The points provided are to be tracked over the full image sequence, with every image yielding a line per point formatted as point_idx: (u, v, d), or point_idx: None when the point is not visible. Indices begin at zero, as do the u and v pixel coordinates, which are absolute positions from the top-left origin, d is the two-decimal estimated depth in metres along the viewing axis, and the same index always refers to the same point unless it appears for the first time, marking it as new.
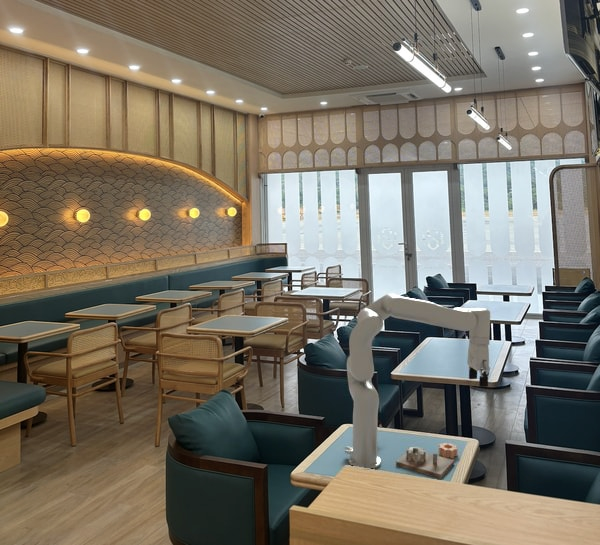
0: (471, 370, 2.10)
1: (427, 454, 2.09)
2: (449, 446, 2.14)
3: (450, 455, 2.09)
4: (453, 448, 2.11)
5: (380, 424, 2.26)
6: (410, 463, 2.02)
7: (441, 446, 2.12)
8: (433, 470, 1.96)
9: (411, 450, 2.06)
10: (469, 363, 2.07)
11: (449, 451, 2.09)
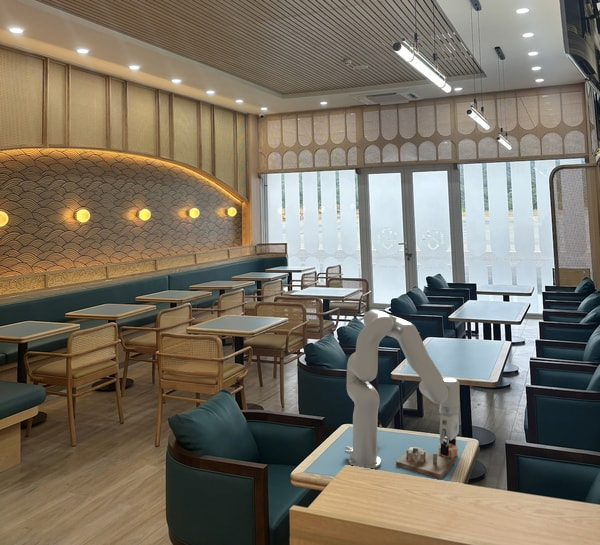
0: None
1: (427, 454, 2.09)
2: (449, 446, 2.14)
3: (450, 455, 2.09)
4: (453, 448, 2.11)
5: (380, 424, 2.26)
6: (410, 463, 2.02)
7: None
8: (433, 470, 1.96)
9: (411, 450, 2.06)
10: (453, 436, 2.08)
11: (449, 451, 2.09)
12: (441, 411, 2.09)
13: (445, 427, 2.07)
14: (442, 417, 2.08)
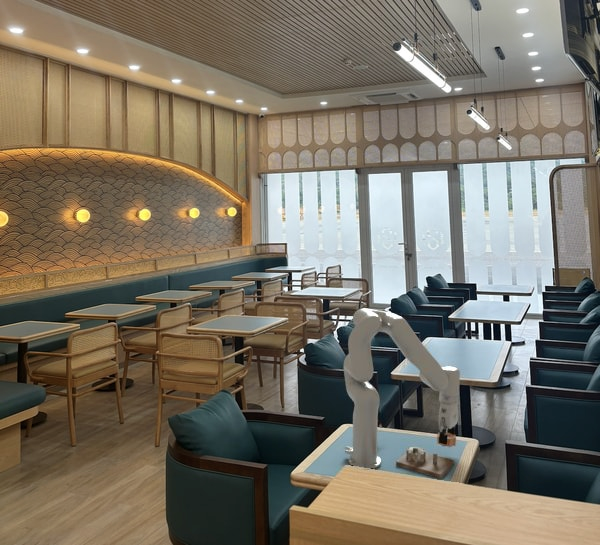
0: None
1: (427, 454, 2.09)
2: (448, 435, 2.13)
3: (448, 444, 2.09)
4: (452, 437, 2.10)
5: (380, 424, 2.26)
6: (410, 463, 2.02)
7: None
8: (433, 470, 1.96)
9: (411, 450, 2.06)
10: (452, 425, 2.08)
11: (448, 440, 2.09)
12: (441, 399, 2.09)
13: (444, 415, 2.06)
14: (442, 405, 2.08)
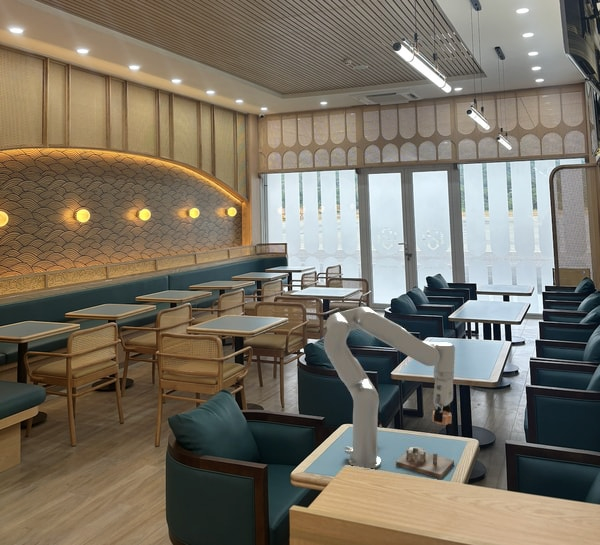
0: None
1: (427, 454, 2.09)
2: (443, 413, 2.07)
3: (444, 422, 2.02)
4: (447, 415, 2.04)
5: (380, 424, 2.26)
6: (410, 463, 2.02)
7: None
8: (433, 470, 1.96)
9: (411, 450, 2.06)
10: (447, 402, 2.01)
11: (443, 418, 2.02)
12: (435, 376, 2.02)
13: (439, 392, 2.00)
14: (436, 382, 2.01)
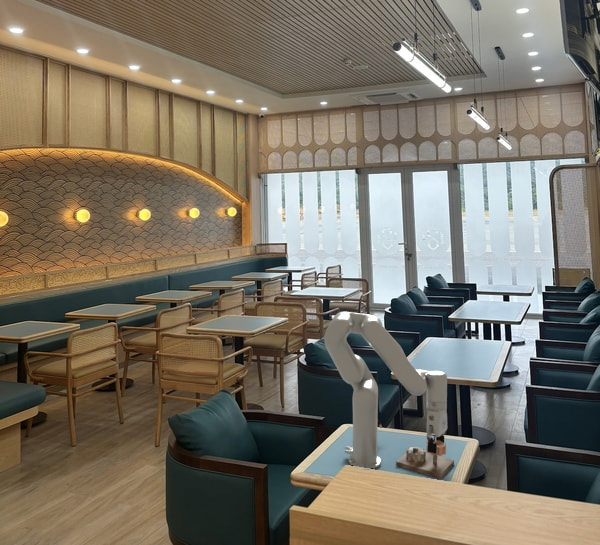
0: None
1: (427, 454, 2.09)
2: (437, 443, 2.02)
3: (438, 453, 1.97)
4: (441, 445, 1.99)
5: (380, 424, 2.26)
6: (410, 463, 2.02)
7: None
8: (433, 470, 1.96)
9: (411, 450, 2.06)
10: (441, 432, 1.96)
11: (437, 448, 1.97)
12: (428, 406, 1.98)
13: (432, 423, 1.95)
14: (429, 412, 1.96)
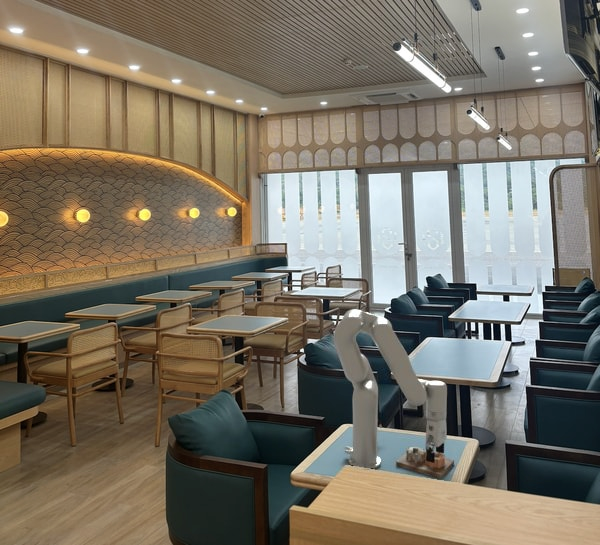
0: None
1: None
2: None
3: (437, 465, 1.98)
4: (440, 457, 1.99)
5: (380, 424, 2.26)
6: (410, 463, 2.02)
7: None
8: (433, 470, 1.96)
9: (411, 450, 2.06)
10: (440, 442, 1.97)
11: (436, 460, 1.98)
12: (427, 416, 1.98)
13: (432, 433, 1.96)
14: (428, 422, 1.97)
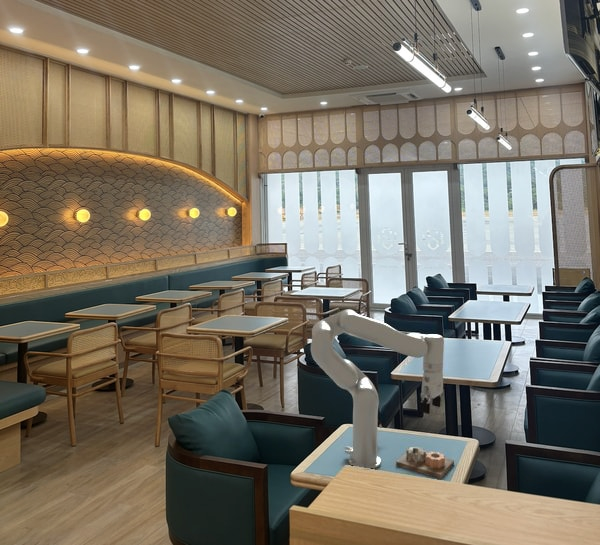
0: None
1: None
2: None
3: (437, 465, 1.98)
4: (440, 457, 1.99)
5: (380, 424, 2.26)
6: (410, 463, 2.02)
7: (428, 455, 2.01)
8: (433, 470, 1.96)
9: (411, 450, 2.06)
10: (436, 394, 2.00)
11: (436, 460, 1.98)
12: (424, 368, 2.01)
13: (427, 384, 1.99)
14: (425, 374, 2.00)
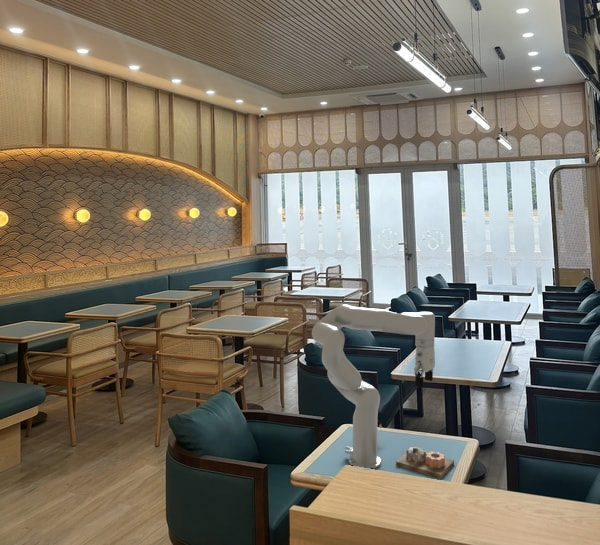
0: None
1: None
2: None
3: (437, 465, 1.98)
4: (440, 457, 1.99)
5: (380, 424, 2.26)
6: (410, 463, 2.02)
7: (428, 455, 2.01)
8: (433, 470, 1.96)
9: (411, 450, 2.06)
10: (428, 368, 2.10)
11: (436, 460, 1.98)
12: (417, 344, 2.11)
13: (420, 359, 2.09)
14: (417, 349, 2.10)
